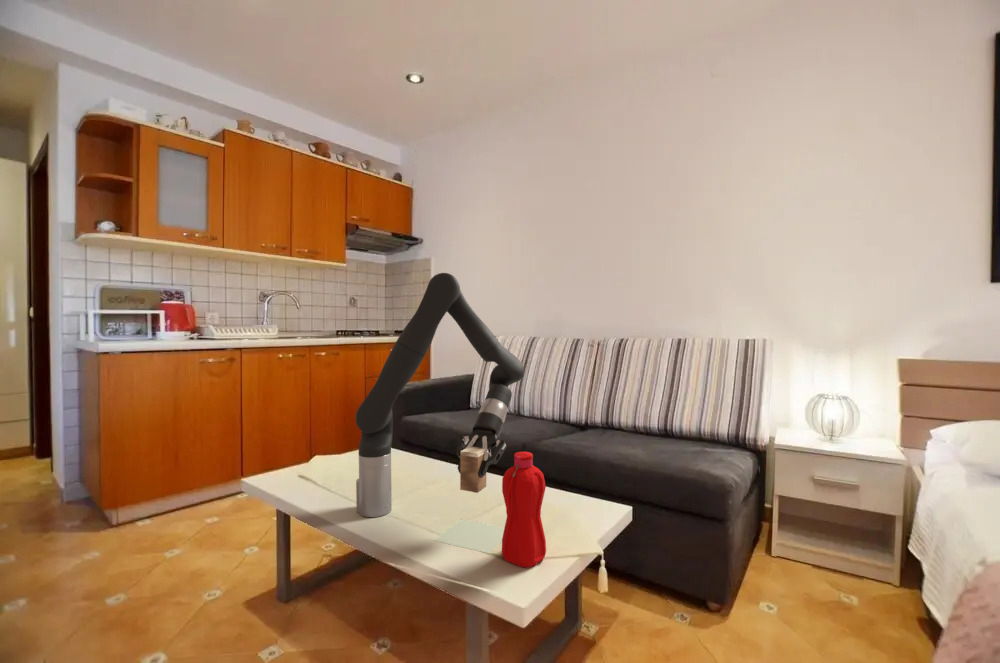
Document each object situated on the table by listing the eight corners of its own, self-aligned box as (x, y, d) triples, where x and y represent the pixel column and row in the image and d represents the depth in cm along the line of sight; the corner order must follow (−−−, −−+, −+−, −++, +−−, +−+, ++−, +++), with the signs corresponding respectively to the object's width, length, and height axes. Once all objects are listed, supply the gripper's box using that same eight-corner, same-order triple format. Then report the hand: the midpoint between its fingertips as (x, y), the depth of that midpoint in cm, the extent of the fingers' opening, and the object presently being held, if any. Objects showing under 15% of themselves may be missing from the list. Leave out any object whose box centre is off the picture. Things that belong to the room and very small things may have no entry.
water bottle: (491, 563, 106) (490, 455, 105) (520, 544, 114) (519, 445, 114) (523, 577, 100) (523, 463, 99) (551, 556, 108) (550, 452, 108)
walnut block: (460, 489, 117) (460, 451, 117) (469, 483, 122) (469, 446, 122) (477, 492, 115) (477, 453, 115) (486, 486, 120) (486, 448, 120)
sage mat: (433, 542, 116) (433, 540, 116) (460, 520, 128) (460, 518, 128) (490, 555, 109) (490, 553, 109) (513, 530, 122) (513, 529, 122)
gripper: (463, 408, 128) (440, 463, 117) (510, 413, 122) (491, 471, 111) (472, 423, 133) (451, 477, 122) (518, 428, 127) (499, 485, 116)
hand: (470, 474), depth 117 cm, fingers closed on walnut block, 5 cm apart
